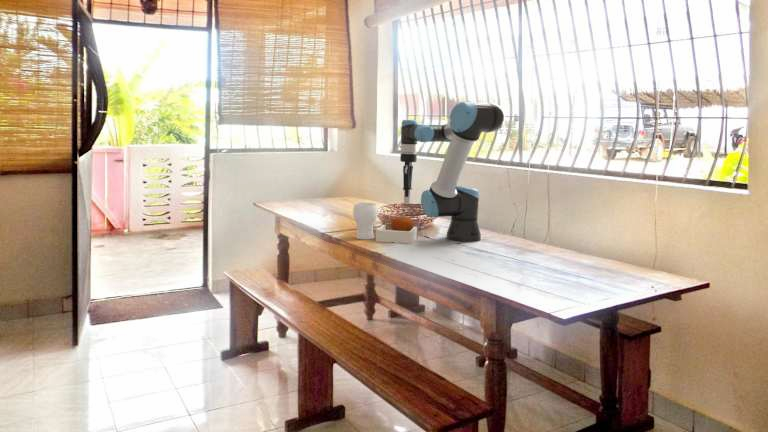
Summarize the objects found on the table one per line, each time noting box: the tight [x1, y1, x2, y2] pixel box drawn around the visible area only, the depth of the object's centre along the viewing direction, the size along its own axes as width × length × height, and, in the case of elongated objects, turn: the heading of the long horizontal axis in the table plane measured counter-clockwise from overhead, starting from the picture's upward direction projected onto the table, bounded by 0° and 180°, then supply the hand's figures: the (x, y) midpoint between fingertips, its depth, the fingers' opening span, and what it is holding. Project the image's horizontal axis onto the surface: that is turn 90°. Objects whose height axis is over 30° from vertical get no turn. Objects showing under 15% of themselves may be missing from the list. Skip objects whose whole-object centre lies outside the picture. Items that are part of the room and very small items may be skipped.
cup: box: [352, 202, 379, 240], centre depth 274 cm, size 11×11×15 cm
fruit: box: [390, 215, 415, 231], centre depth 287 cm, size 11×10×8 cm
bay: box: [375, 219, 419, 245], centre depth 273 cm, size 16×16×7 cm
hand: (406, 203), depth 295 cm, fingers closed
